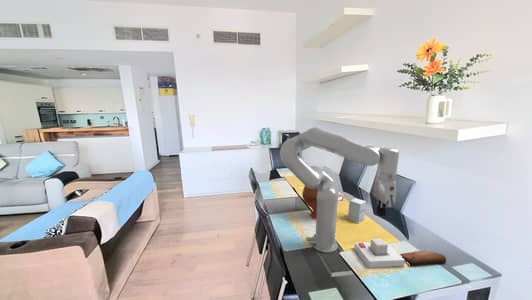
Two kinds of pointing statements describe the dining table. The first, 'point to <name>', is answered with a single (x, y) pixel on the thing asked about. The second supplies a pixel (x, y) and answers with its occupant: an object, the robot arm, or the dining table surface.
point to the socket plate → (378, 261)
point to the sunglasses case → (423, 257)
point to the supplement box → (356, 210)
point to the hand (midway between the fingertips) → (380, 214)
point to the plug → (378, 247)
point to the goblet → (311, 200)
